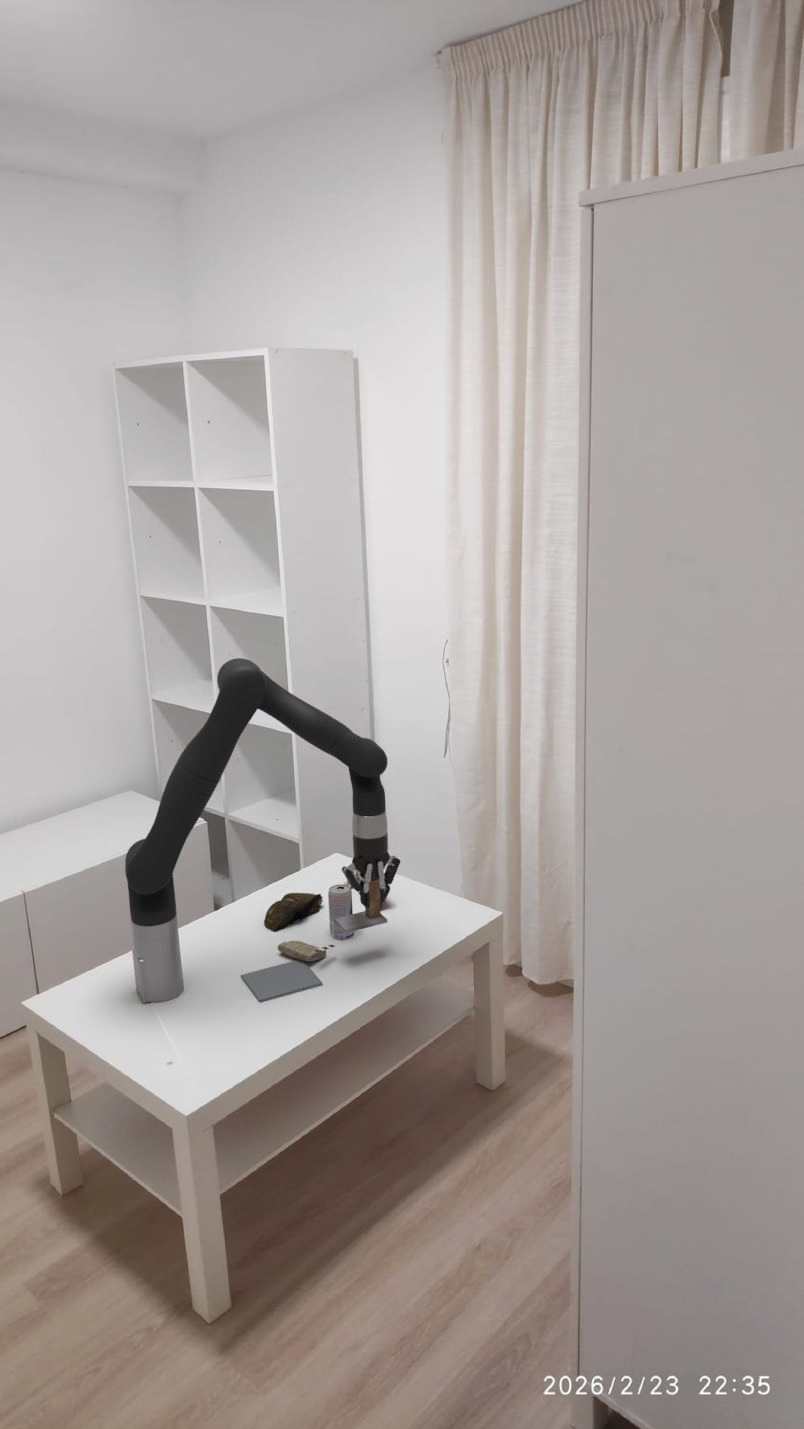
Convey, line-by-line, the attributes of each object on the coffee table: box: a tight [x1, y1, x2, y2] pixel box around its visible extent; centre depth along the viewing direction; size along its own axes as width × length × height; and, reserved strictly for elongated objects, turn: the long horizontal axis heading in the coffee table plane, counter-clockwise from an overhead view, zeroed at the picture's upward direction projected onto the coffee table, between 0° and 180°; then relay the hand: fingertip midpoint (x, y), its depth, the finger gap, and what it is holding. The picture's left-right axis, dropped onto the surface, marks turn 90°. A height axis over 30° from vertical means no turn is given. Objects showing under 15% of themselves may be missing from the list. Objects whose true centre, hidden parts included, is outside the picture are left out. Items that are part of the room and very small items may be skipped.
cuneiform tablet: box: [277, 940, 335, 962], centre depth 230 cm, size 6×4×12 cm
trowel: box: [334, 875, 388, 933], centre depth 226 cm, size 10×6×10 cm, turn 117°
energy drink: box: [327, 884, 355, 941], centre depth 238 cm, size 5×5×12 cm
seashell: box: [263, 892, 324, 932], centre depth 248 cm, size 16×9×7 cm, turn 140°
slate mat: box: [240, 959, 324, 1003], centre depth 221 cm, size 14×12×1 cm
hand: (372, 904), depth 228 cm, fingers closed on trowel, 2 cm apart
